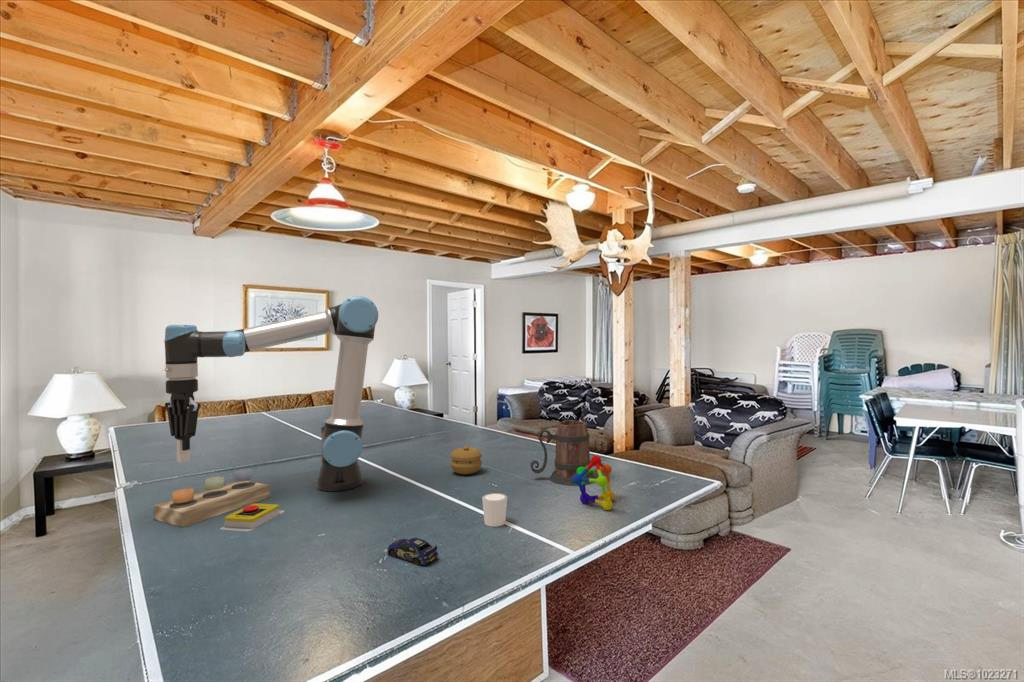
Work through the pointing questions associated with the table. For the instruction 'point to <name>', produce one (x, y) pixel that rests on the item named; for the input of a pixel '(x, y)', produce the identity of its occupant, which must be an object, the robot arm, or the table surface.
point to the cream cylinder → (494, 509)
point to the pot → (466, 460)
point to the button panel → (211, 503)
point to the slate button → (243, 475)
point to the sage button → (214, 483)
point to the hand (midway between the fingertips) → (183, 461)
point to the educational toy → (601, 481)
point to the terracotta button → (183, 495)
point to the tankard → (567, 452)
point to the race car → (413, 550)
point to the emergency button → (251, 517)
